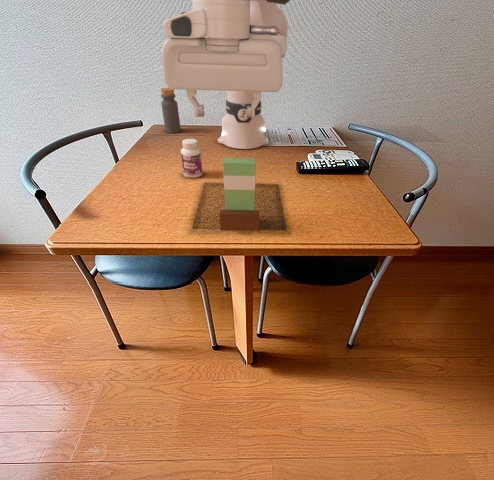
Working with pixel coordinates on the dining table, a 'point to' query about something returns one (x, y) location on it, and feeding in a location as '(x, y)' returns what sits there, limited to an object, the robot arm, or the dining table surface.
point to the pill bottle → (191, 159)
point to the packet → (239, 183)
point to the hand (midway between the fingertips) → (225, 116)
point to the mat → (241, 213)
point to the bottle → (170, 111)
